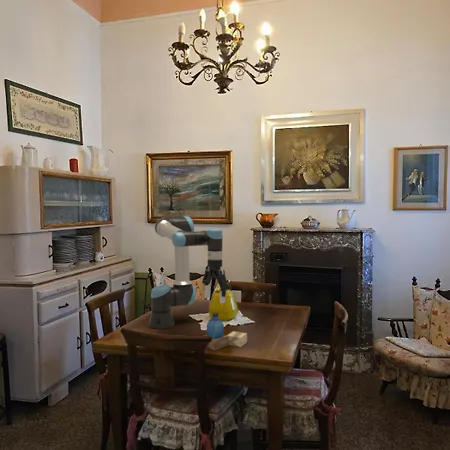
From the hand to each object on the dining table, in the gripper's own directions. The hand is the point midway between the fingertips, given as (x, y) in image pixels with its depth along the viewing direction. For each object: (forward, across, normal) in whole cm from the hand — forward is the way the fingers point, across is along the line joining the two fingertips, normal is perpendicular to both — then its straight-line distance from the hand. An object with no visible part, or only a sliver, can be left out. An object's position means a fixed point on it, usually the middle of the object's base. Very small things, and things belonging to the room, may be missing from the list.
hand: (214, 300), depth 220 cm
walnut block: (+24, 0, 0) cm, 24 cm away
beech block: (+24, +5, +11) cm, 26 cm away
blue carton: (+19, 0, 0) cm, 19 cm away
